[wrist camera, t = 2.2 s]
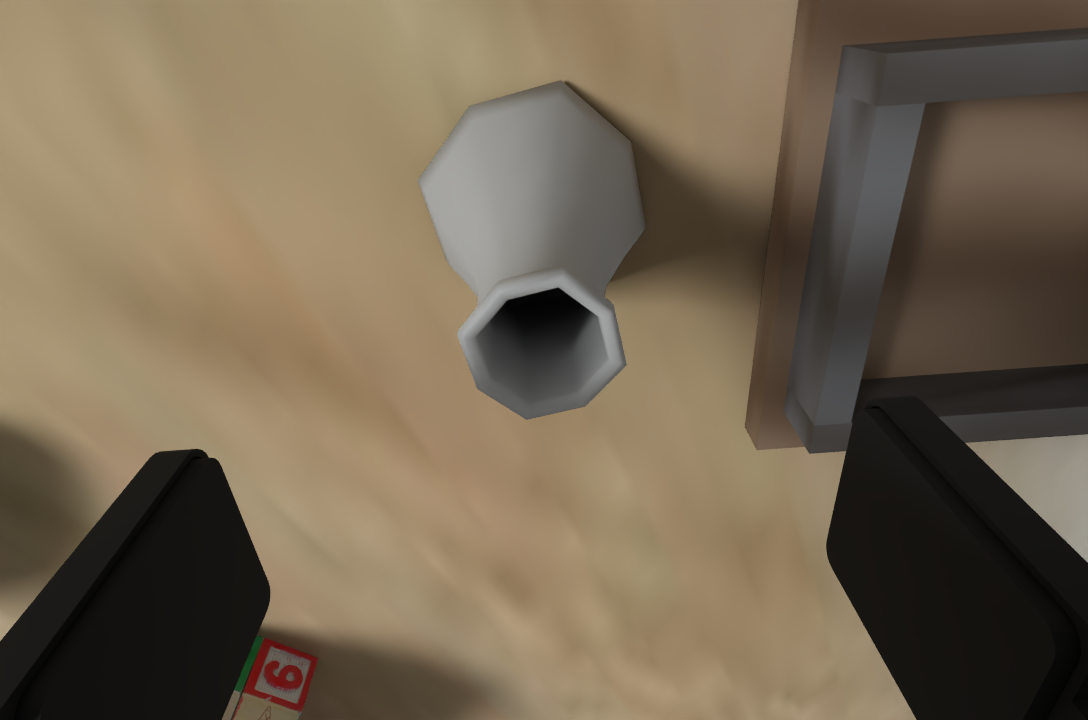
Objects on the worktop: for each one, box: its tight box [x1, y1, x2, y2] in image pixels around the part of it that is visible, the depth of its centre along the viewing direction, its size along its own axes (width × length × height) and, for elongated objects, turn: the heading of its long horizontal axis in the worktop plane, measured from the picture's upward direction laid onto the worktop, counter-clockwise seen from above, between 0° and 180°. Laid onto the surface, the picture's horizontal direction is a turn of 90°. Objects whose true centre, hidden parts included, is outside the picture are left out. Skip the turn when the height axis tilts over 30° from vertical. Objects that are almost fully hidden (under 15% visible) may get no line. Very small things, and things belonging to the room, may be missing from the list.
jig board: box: [745, 0, 1088, 454], centre depth 20 cm, size 16×14×4 cm
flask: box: [418, 80, 646, 420], centre depth 17 cm, size 7×7×10 cm
